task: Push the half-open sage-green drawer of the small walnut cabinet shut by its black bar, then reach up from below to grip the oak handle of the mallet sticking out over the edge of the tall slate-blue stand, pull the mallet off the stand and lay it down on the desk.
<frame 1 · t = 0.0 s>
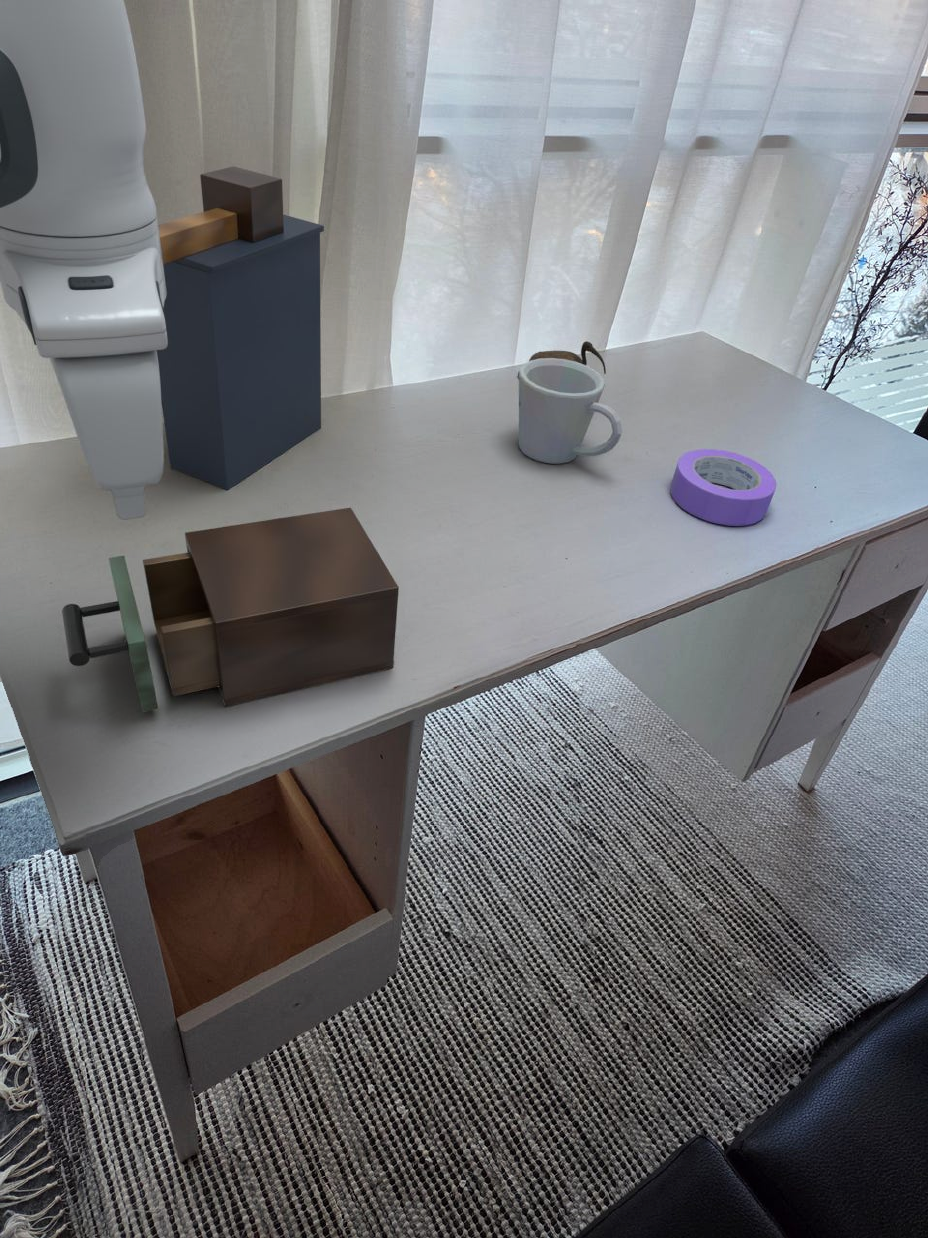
hand: (121, 475, 57), 20 cm above the table, tool pointing down, fingers open, 8 cm apart
figurine: (560, 394, 120), on the table
drawer: (185, 622, 69), point 5 cm above the table, slide at 5.0 cm
mug: (561, 458, 106), on the table
mallet: (187, 249, 79), point 24 cm above the table, touching stand
cabinet: (292, 641, 75), on the table
tape roll: (717, 501, 102), on the table
stand: (249, 446, 99), on the table
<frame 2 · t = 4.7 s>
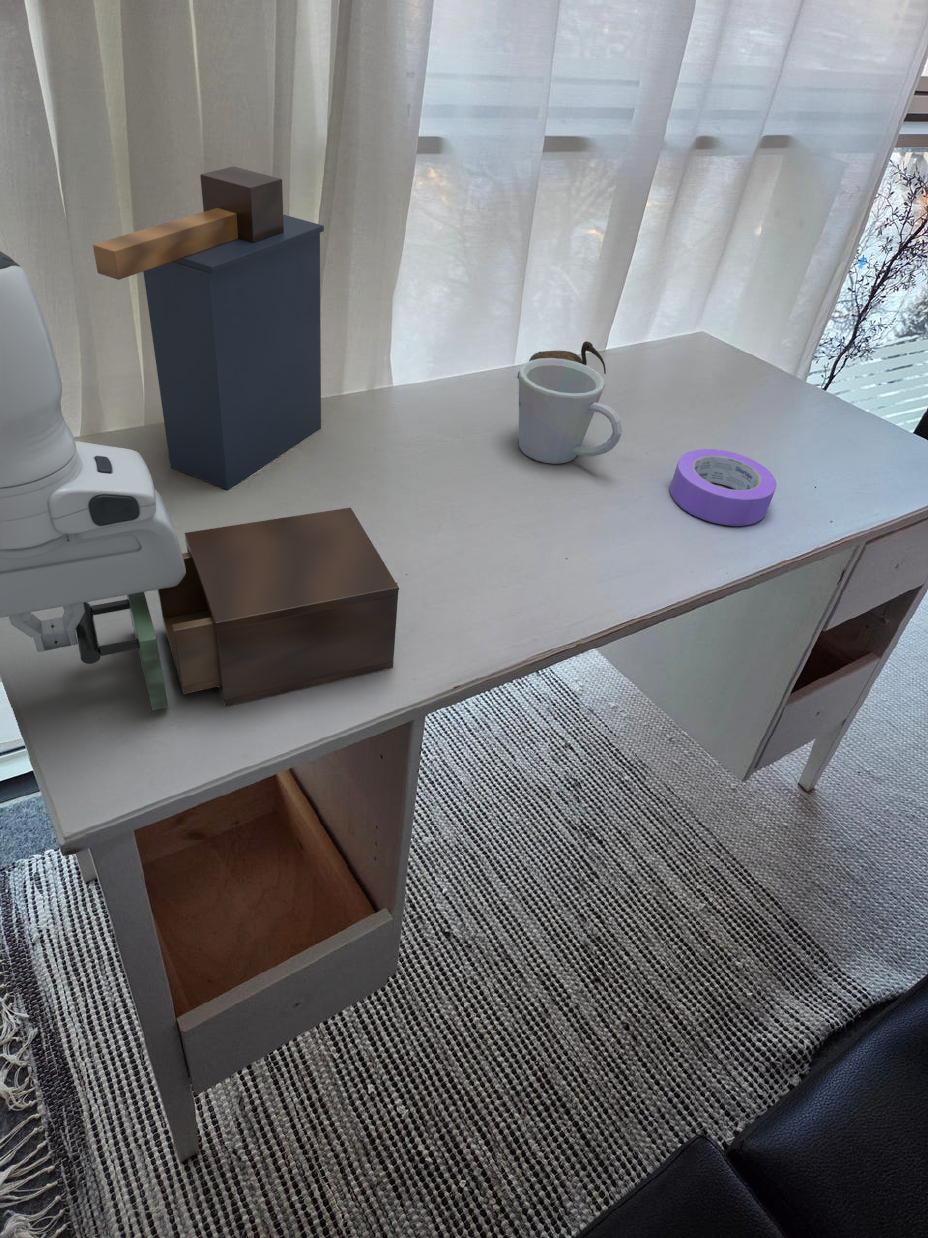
hand: (57, 643, 65), 5 cm above the table, tool pointing down, fingers closed
drawer: (194, 620, 69), point 5 cm above the table, slide at 4.2 cm, touching gripper
everything else where it was.
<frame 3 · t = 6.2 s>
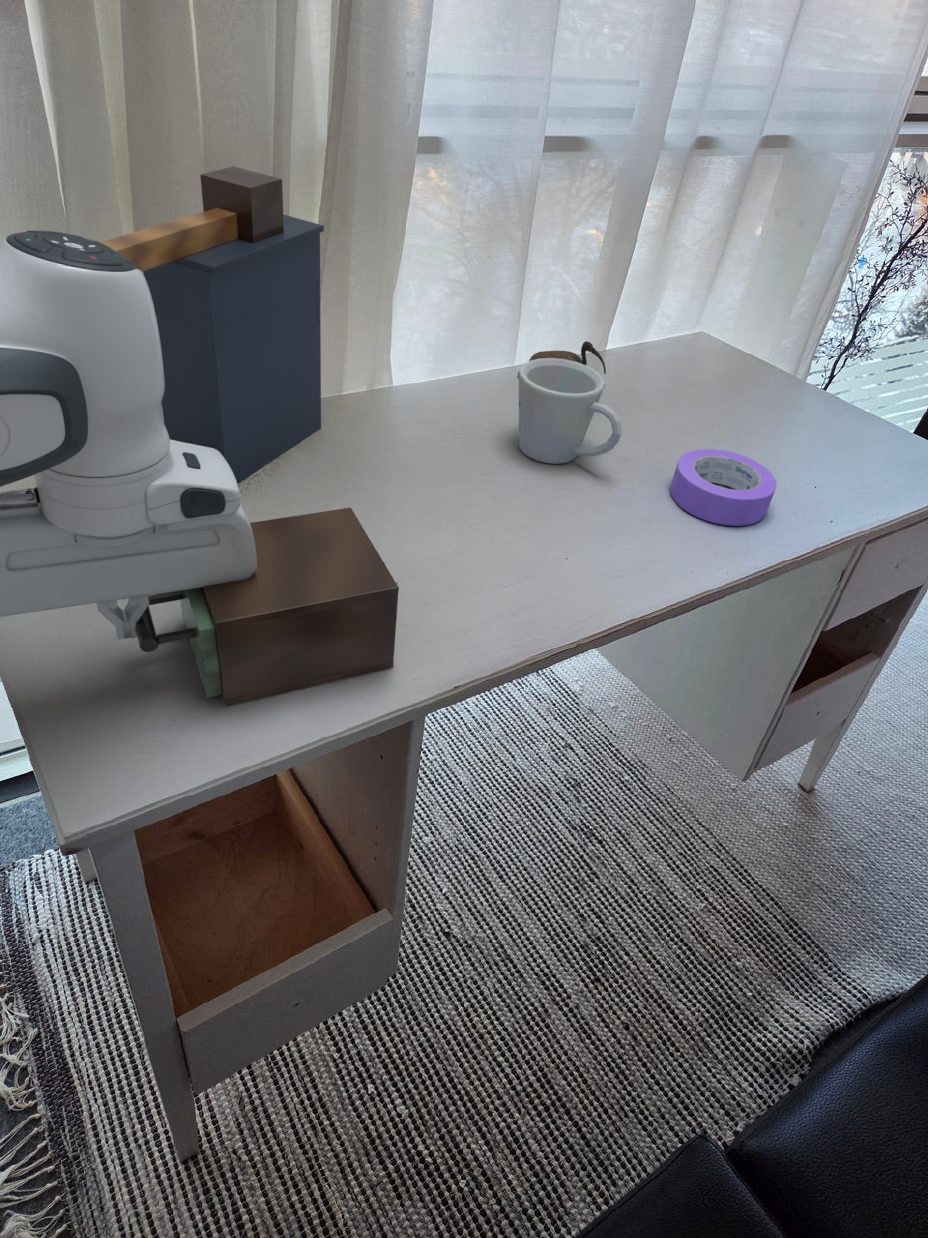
hand: (128, 633, 67), 4 cm above the table, tool pointing down, fingers closed, pressing on drawer
drawer: (246, 610, 70), point 5 cm above the table, slide at 0.0 cm, touching cabinet, gripper
everything else where it was.
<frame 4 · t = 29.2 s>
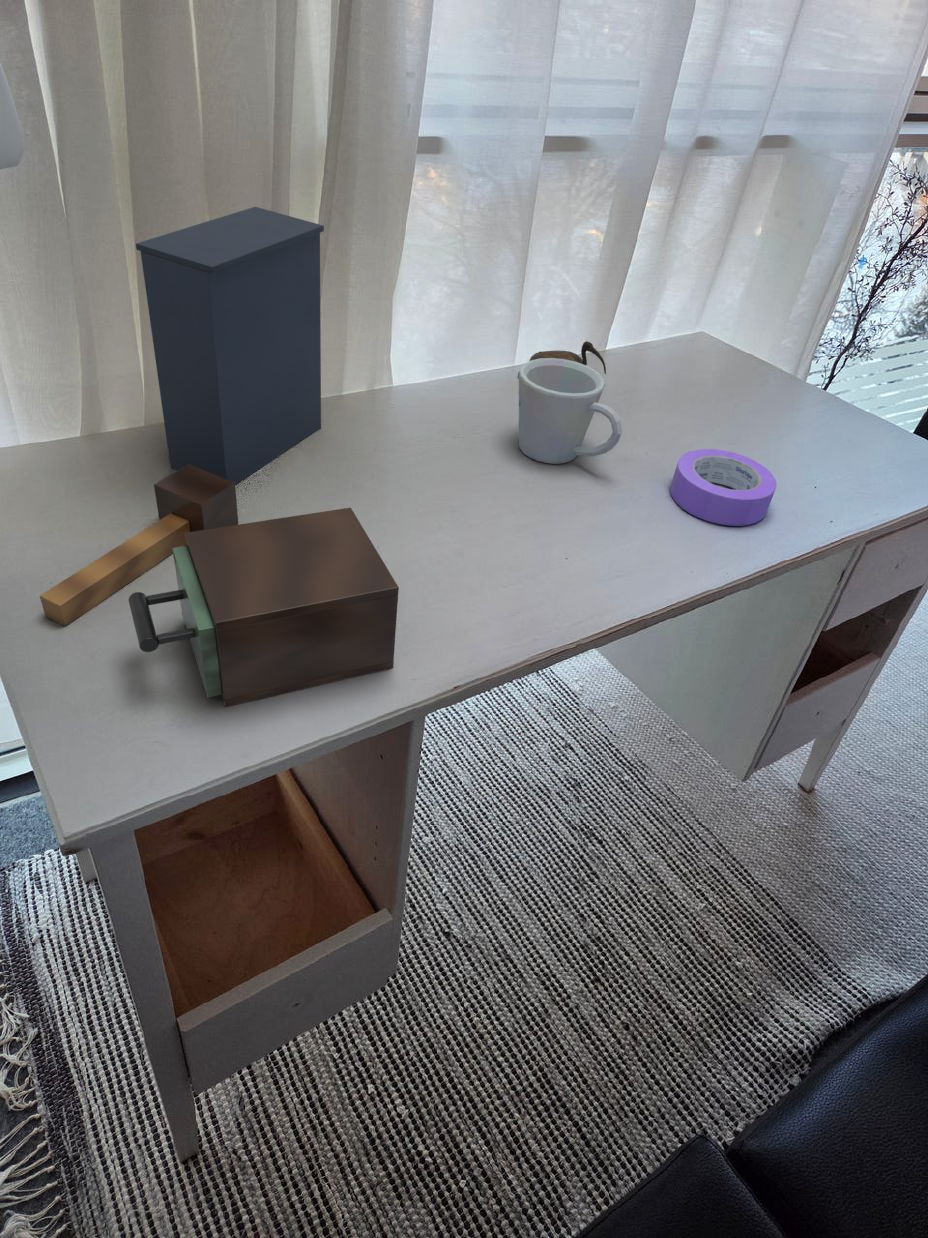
drawer: (246, 610, 70), point 5 cm above the table, slide at 0.0 cm, touching cabinet
mallet: (139, 565, 81), on the table
everything else where it was.
at the end: drawer slide at 0.0 cm; mallet inside the target area on the table beside the stand (3.6 cm from its centre), on the table; the gripper is holding nothing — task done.
